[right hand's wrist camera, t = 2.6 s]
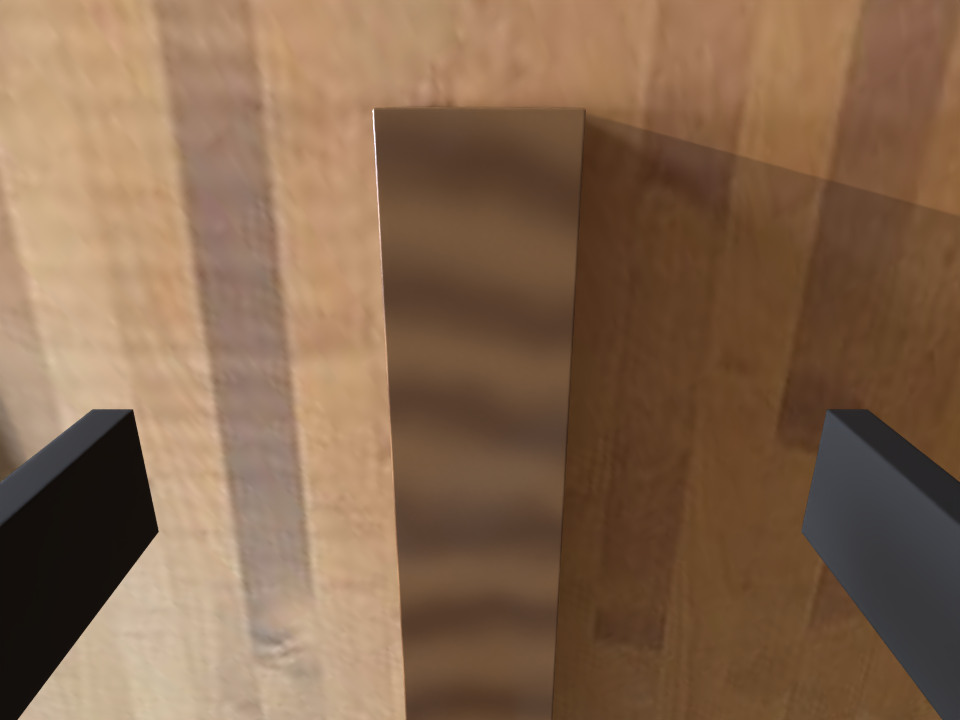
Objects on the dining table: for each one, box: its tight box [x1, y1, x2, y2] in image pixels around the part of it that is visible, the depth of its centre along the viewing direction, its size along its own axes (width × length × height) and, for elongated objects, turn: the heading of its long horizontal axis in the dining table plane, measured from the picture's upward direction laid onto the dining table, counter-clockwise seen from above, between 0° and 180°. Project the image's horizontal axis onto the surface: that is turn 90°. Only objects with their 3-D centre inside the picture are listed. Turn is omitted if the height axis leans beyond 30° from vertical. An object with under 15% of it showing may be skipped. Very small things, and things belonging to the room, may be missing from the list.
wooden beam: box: [373, 107, 586, 720], centre depth 43 cm, size 66×9×7 cm, turn 0°
